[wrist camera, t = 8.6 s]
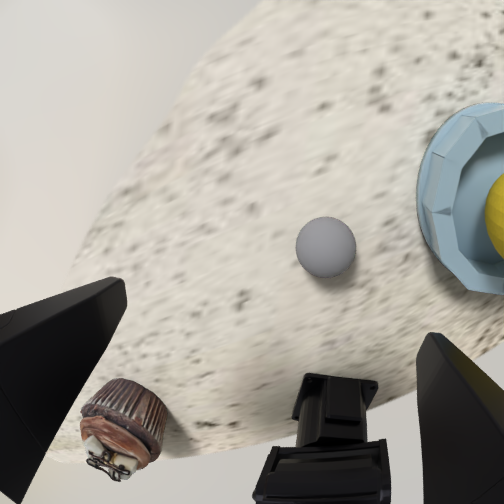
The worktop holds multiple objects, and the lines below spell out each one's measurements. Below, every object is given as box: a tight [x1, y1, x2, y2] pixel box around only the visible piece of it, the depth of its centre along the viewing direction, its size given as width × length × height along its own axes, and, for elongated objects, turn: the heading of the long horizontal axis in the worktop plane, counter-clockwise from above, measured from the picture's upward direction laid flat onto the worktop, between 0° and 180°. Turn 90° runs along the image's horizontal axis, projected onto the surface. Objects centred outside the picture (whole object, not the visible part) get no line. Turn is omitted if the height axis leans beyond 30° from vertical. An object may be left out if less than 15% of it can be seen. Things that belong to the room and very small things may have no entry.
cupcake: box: [80, 378, 167, 482], centre depth 28 cm, size 10×10×10 cm
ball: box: [296, 217, 356, 278], centre depth 18 cm, size 4×4×4 cm
